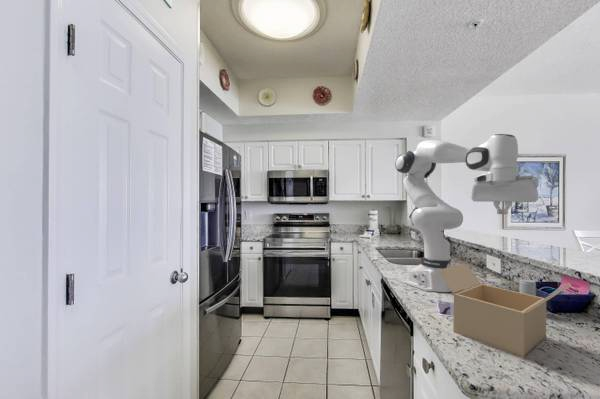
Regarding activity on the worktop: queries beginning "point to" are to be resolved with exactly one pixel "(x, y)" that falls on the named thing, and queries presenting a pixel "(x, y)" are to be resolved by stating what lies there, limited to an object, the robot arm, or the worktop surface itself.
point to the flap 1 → (458, 277)
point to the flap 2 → (548, 298)
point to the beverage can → (527, 287)
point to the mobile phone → (445, 308)
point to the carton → (500, 318)
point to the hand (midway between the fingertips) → (502, 214)
